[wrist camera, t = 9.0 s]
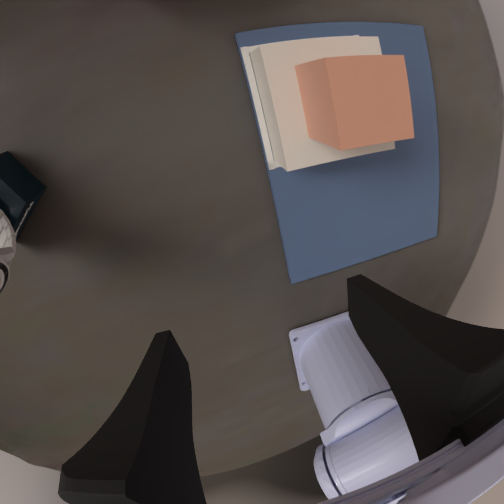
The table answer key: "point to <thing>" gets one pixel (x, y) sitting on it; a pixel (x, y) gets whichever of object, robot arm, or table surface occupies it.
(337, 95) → the terracotta block
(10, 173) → the watch
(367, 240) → the blueprint board
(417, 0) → the table surface
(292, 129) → the base block
